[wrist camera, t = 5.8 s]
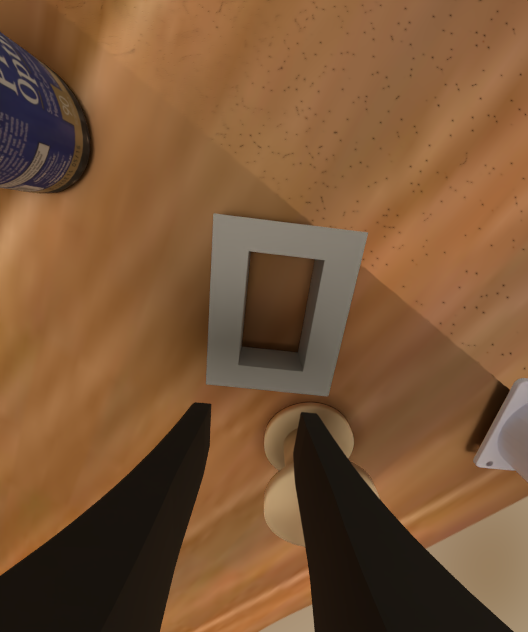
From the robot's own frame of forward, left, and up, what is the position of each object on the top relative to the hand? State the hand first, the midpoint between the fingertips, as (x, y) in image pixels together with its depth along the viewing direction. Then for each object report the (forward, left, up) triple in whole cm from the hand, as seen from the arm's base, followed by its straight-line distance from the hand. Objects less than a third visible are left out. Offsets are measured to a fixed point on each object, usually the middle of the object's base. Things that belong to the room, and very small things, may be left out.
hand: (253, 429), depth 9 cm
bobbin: (-5, +8, -8) cm, 13 cm away
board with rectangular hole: (-1, -3, -8) cm, 9 cm away
